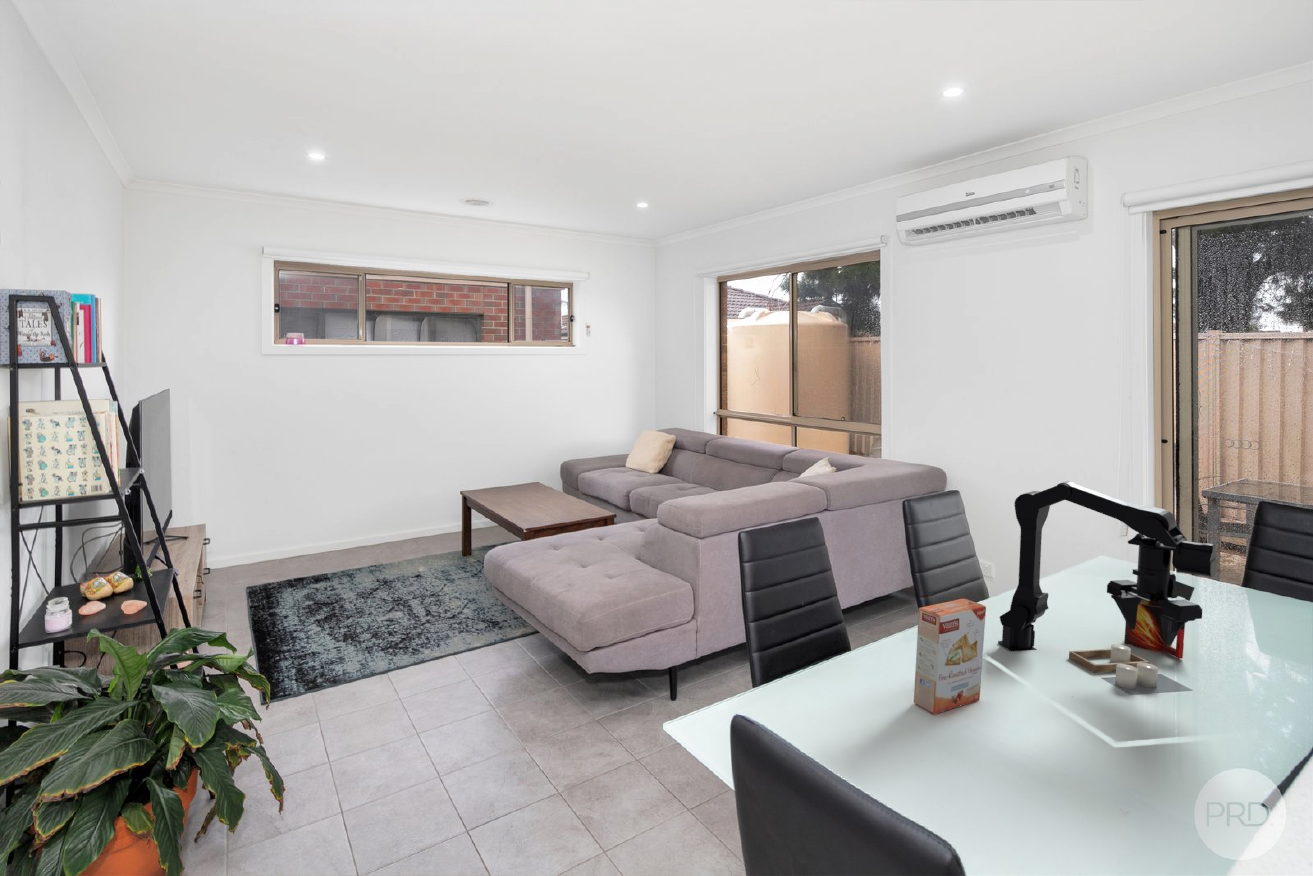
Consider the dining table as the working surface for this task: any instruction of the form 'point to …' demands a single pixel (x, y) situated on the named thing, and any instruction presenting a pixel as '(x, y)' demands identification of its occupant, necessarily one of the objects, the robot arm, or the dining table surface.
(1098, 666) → the walnut bin
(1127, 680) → the white rounded stone
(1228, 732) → the dining table surface
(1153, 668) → the pebble
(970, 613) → the cracker box
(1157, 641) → the mug
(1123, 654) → the pebble
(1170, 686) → the slate board
